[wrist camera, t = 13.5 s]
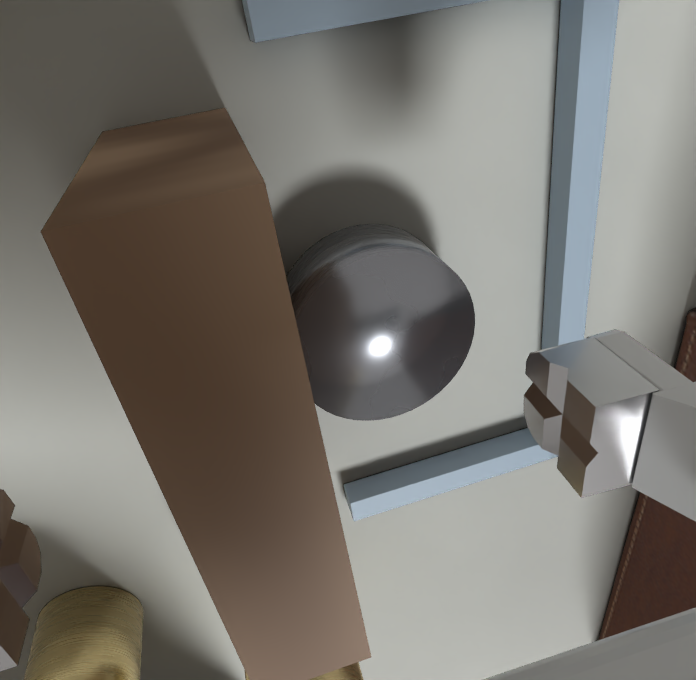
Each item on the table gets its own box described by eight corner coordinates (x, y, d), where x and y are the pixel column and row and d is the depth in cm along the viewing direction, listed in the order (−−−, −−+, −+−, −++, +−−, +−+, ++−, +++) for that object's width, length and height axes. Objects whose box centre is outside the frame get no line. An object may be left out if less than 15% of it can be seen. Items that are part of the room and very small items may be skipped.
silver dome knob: (319, 195, 13) (340, 222, 11) (469, 255, 14) (508, 286, 13) (251, 354, 14) (261, 399, 13) (395, 391, 16) (420, 434, 14)
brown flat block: (224, 106, 11) (265, 183, 6) (311, 462, 16) (371, 656, 12) (103, 131, 11) (41, 232, 6) (232, 486, 16) (258, 697, 11)
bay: (599, -69, 11) (627, -74, 11) (558, 436, 19) (572, 451, 18) (240, -9, 10) (245, -10, 9) (347, 501, 18) (354, 521, 17)
